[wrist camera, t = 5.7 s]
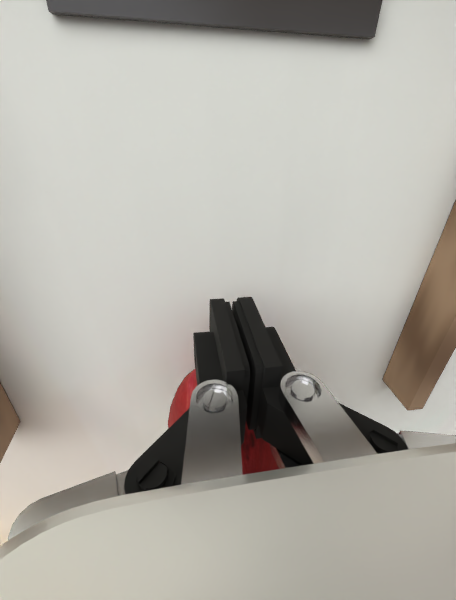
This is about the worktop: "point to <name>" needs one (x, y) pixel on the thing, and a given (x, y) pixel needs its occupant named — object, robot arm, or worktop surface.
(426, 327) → the wooden u-shaped frame
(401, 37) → the worktop surface
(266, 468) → the onion
